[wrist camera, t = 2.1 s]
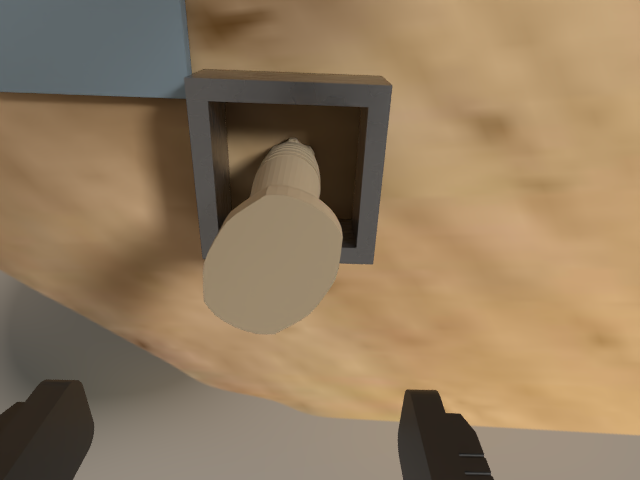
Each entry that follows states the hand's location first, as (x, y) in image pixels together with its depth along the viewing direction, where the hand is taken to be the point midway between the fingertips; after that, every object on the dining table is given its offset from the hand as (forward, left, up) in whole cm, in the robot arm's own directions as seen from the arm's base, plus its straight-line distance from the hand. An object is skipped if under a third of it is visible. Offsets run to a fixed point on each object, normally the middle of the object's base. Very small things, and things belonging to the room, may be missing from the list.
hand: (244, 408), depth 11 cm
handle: (0, 0, -22) cm, 22 cm away
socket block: (0, 0, -22) cm, 22 cm away
